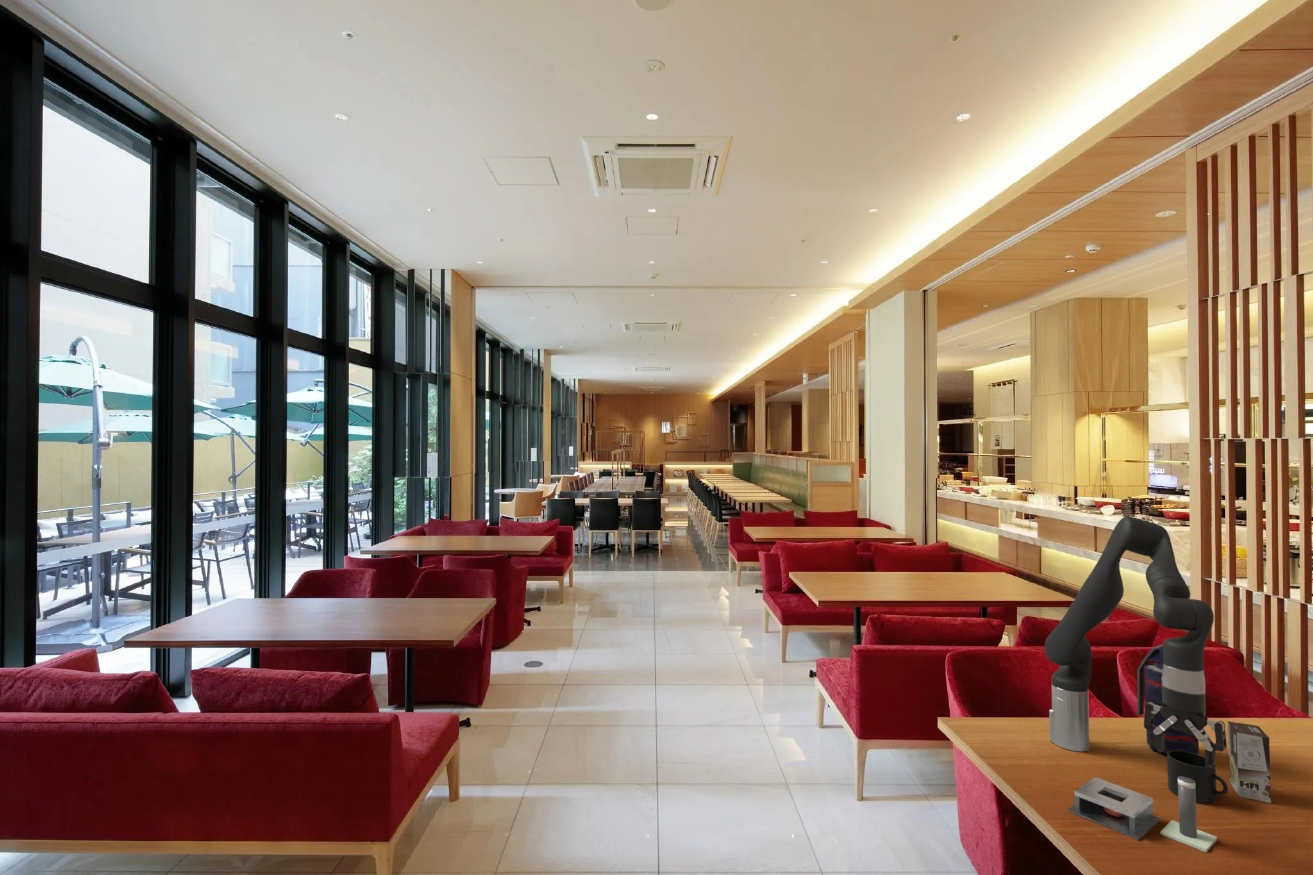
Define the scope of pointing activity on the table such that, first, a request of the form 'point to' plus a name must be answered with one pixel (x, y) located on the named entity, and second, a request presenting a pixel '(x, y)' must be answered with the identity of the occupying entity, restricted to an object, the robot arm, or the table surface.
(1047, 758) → the table surface
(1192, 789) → the peg
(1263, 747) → the coffee box
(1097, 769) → the table surface
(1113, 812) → the button
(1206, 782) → the mug
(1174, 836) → the pad
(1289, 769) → the table surface
